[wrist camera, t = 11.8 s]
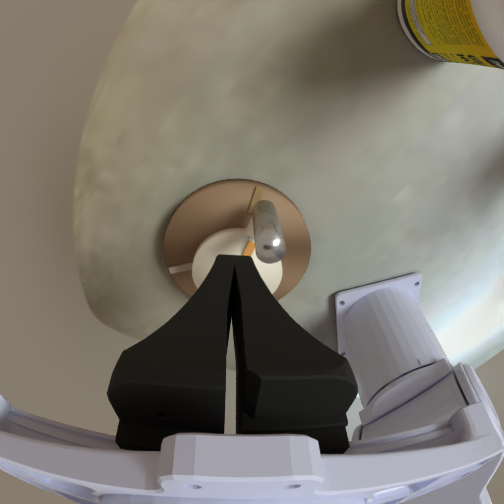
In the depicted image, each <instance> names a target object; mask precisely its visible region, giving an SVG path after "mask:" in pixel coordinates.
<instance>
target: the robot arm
mask: <svg viewBox="0 0 504 504" xmlns="http://www.w3.org/2000/svg"><path fill="white" fill-rule="evenodd" d="M416 282H417V283H416ZM421 283H422V275H421V274H420V273H419V272H417V273H413V274H409V275H406V276H402V277H398V278H394V279H390V280H386V281H382V282H378V283H374V284H370V285H366V286H362V287H358V288H354V289H350V290H346V291H341V292H338V293H337V294H336V295H335V307H336V324H337V343H338V353H337V352H335V351H333V350H332V349H330V348H328V347H327V346H325V345H324V344H322V343H321V342H320V341H318V340H317V339H315V338H314V337H313V336H311V335H310V334H309V333H308V332H307V331H305V330H304V329H303V328H302V327H301V326H300V325H299V324H297V323H296V322H295V321H294V320H293V319H292V318H291V317H290V315H289V314H288V313H287V312H286V311H285V310H284V309H283V308H282V306H281V305H280V304H279V303H278V301H277V300H276V299H275V297H274V296H273V295H272V293H271V292H270V290H269V289H268V287H267V285H266V284H265V282H264V281H263V279H262V277H261V276H260V274H259V272H258V270H257V268H256V266H255V264H254V261H253V258H252V257H251V256H245V255H225V254H219V255H218V256H216V259H215V261H214V264H213V266H212V268H211V269H210V271H209V273H208V274H207V276H206V278H205V279H204V281H203V282H202V284H201V285H200V287H199V288H198V289H197V291H196V292H195V293H194V294H193V296H192V297H191V298H190V299H189V301H188V302H187V303H186V304H185V305H184V306H183V307H182V308H181V309H180V310H179V311H178V312H177V313H176V314H175V315H174V316H173V317H172V318H171V319H170V320H169V321H168V322H166V323H165V324H164V325H163V326H162V327H160V328H159V329H158V330H156V331H155V332H154V333H152V334H151V335H150V336H148V337H147V338H145V339H144V340H142V341H140V342H139V343H137V344H135V345H133V346H132V347H130V348H128V349H126V350H124V351H123V352H122V354H121V356H120V358H119V360H118V362H117V364H116V366H115V368H114V370H113V373H112V376H111V380H110V384H109V387H108V391H107V396H108V399H109V401H110V403H111V405H112V407H113V409H114V411H115V412H116V414H117V416H118V418H119V425H118V429H117V434H116V436H114V435H109V434H104V433H99V432H95V431H91V430H86V429H82V428H78V427H74V426H70V425H67V424H63V423H60V422H56V421H53V420H49V419H46V418H43V417H40V416H37V415H34V414H31V413H28V412H25V411H22V410H19V409H17V408H14V407H12V406H11V405H10V404H9V402H8V401H7V399H6V398H5V397H4V396H2V395H1V394H0V469H1V470H3V471H5V472H7V473H9V474H11V475H13V476H15V477H17V478H19V479H21V480H23V481H25V482H28V483H30V484H32V485H34V486H37V487H39V488H41V489H43V490H46V491H48V492H50V493H53V494H55V495H58V496H60V497H63V498H66V499H68V500H71V501H74V502H77V503H80V504H492V502H491V499H490V497H489V494H488V492H487V489H486V486H487V484H488V482H489V481H490V479H491V477H492V476H493V474H494V473H495V471H496V469H497V468H498V466H499V464H500V463H501V460H502V459H503V457H504V433H503V430H502V428H501V426H500V421H499V419H498V416H497V414H496V411H495V409H494V407H493V405H492V403H491V401H490V398H489V397H488V394H487V393H486V391H485V389H484V387H483V385H482V383H481V381H480V380H479V378H478V376H477V375H476V373H475V371H474V370H473V368H472V367H471V365H469V364H463V363H461V362H459V363H458V364H457V365H456V366H454V367H453V366H452V365H451V364H450V362H449V360H448V358H447V356H446V354H445V352H444V350H443V348H442V347H441V345H440V343H439V341H438V339H437V338H436V336H435V334H434V332H433V330H432V329H431V327H430V325H429V323H428V322H427V320H426V318H425V317H424V315H423V313H422V311H421V310H420V308H419V306H418V302H419V296H420V290H421ZM341 301H343V302H341ZM340 302H341V303H340ZM231 317H232V327H233V338H234V348H235V358H236V434H224V423H225V392H226V355H227V347H228V339H229V332H230V324H231ZM348 361H349V362H348ZM349 363H350V364H349ZM358 393H359V396H360V399H361V403H362V405H363V408H364V409H363V410H362V411H360V412H359V415H360V419H361V423H362V424H361V425H359V426H358V427H357V428H356V429H355V430H354V433H353V437H352V441H348V437H347V432H346V428H345V426H347V425H348V420H347V416H346V412H347V411H348V409H349V408H350V406H351V405H352V403H353V401H354V400H355V398H356V396H357V394H358Z"/></svg>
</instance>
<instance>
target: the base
mask: <svg viewBox="0 0 504 504" xmlns="http://www.w3.org/2000/svg"><path fill="white" fill-rule="evenodd" d="M260 200H268V201H271V202H272V203H273V204H274V205H275V207H276V211H277V215H278V219H279V223H280V227H281V231H282V235H283V239H284V243H285V247H286V253H285V256H284V257H283V258H282V259H281V263H282V279H281V282H280V284H279V286H278V288H277V289H276V291H275V292H274V293H273V294H272V295H273V296H274V297H275V299H276V300H279V299H280V298H282V297H284V296H285V295H286V294H287V293H289V292H290V291H291V290H292V289H293V288H294V287H295V286H296V285H297V284H298V282H299V281H300V280H301V278H302V277H303V275H304V273H305V271H306V269H307V266H308V264H309V259H310V253H311V242H310V236H309V232H308V229H307V227H306V224H305V222H304V220H303V217H302V215H301V213H300V212H299V210H298V208H297V207H296V206H295V204H294V203H293V202H292V201H291V200H290V199H289V198H288V197H287V196H286V195H284V194H283V193H282V192H280V191H279V190H277V189H275V188H273V187H271V186H269V185H267V184H264V183H261V182H258V181H253V180H248V179H227V180H221V181H217V182H213V183H210V184H207V185H205V186H203V187H201V188H199V189H197V190H196V191H194V192H193V193H191V194H190V195H189V196H188V197H187V198H185V199H184V200H183V202H182V203H181V204H180V205H179V206H178V208H177V209H176V211H175V212H174V214H173V216H172V218H171V221H170V223H169V225H168V228H167V230H166V234H165V238H164V257H165V262H166V265H167V268H168V270H169V272H170V274H171V276H172V278H173V279H174V281H175V282H176V283H177V285H178V286H179V287H180V288H181V289H182V290H183V291H184V292H186V293H187V294H188V295H189V296H191V297H192V296H193V294H194V293H195V292H196V291H197V287H196V285H195V283H194V281H193V277H192V265H193V260H194V256H195V253H196V251H197V249H198V247H199V246H200V244H201V243H202V242H203V241H204V240H205V239H206V238H207V237H209V236H210V235H212V234H214V233H216V232H218V231H221V230H225V229H230V228H244V229H246V228H247V226H248V224H249V222H250V220H251V218H252V208H253V206H254V204H255V203H256V202H258V201H260Z"/></svg>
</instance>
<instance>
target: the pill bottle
mask: <svg viewBox="0 0 504 504" xmlns="http://www.w3.org/2000/svg"><path fill="white" fill-rule="evenodd" d="M397 11H398V16H399V20H400V23H401V26H402V28H403V30H404V32H405V34H406V35H407V37H408V38H409V40H410V41H411V42H412V44H413V45H414V46H415V47H416V48H417V49H418V50H420V51H421V52H422V53H424V54H425V55H427V56H429V57H431V58H433V59H436V60H439V61H445V62H455V63H465V64H473V65H481V66H488V67H494V68H500V69H504V0H398V2H397Z"/></svg>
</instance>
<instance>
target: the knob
mask: <svg viewBox="0 0 504 504" xmlns="http://www.w3.org/2000/svg"><path fill="white" fill-rule="evenodd" d="M285 253H286V247H285V243H284V239H283V235H282V231H281V227H280V223H279V219H278V215H277V211H276V207H275V205H274V204H273V203H272V202H271V201H268V200H260V201H258V202H256V203H255V204H254V206H253V208H252V218H251V220H250V222H249V224H248V226H247V228H246V229H244V228H230V229H225V230H221V231H218V232H216V233H214V234H212V235H210V236H209V237H207V238H206V239H205V240H204V241H203V242H202V243H201V244H200V246H199V247H198V249H197V251H196V253H195V256H194V260H193V265H192V277H193V281H194V283H195V285H196V287H197V289H198V288H199V287H200V285H201V284H202V282H203V281H204V279H205V278H206V276H207V274H208V273H209V271H210V269H211V268H212V266H213V264H214V261H215V259H216V256H218V255H219V254H225V255H245V256H251V257H252V258H253V261H254V264H255V266H256V268H257V270H258V272H259V274H260V276H261V277H262V279H263V281H264V282H265V284H266V285H267V287H268V289H269V290H270V292H271V293H272V294H273V293H274V292H275V291H276V289H277V288H278V286H279V284H280V282H281V279H282V263H281V259H282V258H283V257H284V256H285Z"/></svg>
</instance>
